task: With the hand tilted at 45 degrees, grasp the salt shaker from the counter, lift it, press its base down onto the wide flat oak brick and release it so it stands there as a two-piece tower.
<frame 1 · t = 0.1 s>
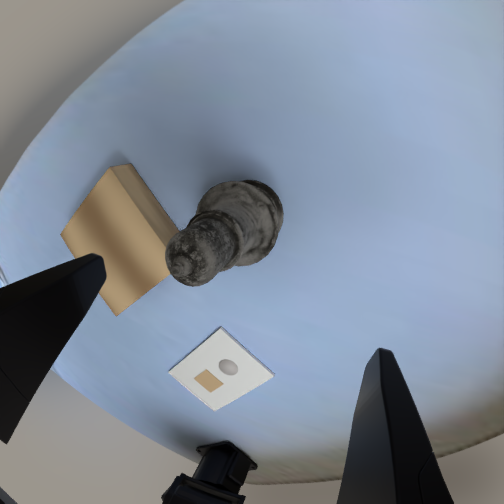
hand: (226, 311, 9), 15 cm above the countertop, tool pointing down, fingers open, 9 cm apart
salt shaker: (250, 213, 24), on the countertop
instruction card: (217, 373, 30), on the countertop
base brick: (129, 238, 28), on the countertop
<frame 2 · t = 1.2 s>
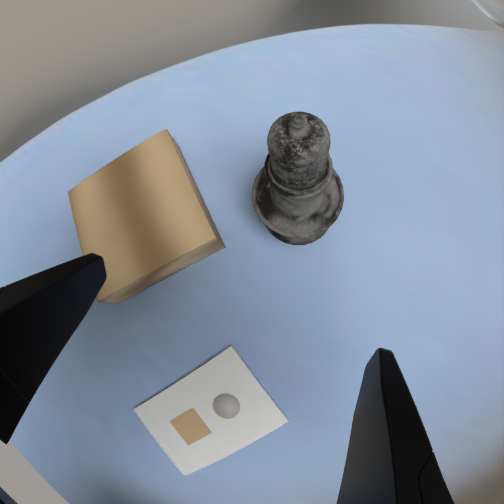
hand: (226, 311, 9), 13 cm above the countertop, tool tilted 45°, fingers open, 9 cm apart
salt shaker: (297, 211, 23), on the countertop
instruction card: (206, 417, 21), on the countertop
base brick: (146, 221, 24), on the countertop
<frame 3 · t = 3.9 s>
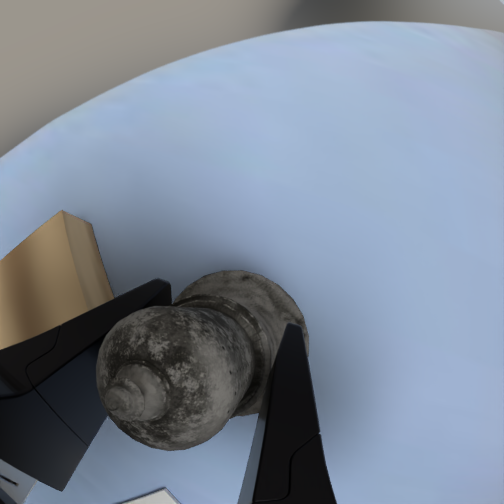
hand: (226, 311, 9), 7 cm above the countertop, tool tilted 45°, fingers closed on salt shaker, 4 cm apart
salt shaker: (246, 337, 15), on the countertop, touching gripper
base brick: (59, 328, 17), on the countertop
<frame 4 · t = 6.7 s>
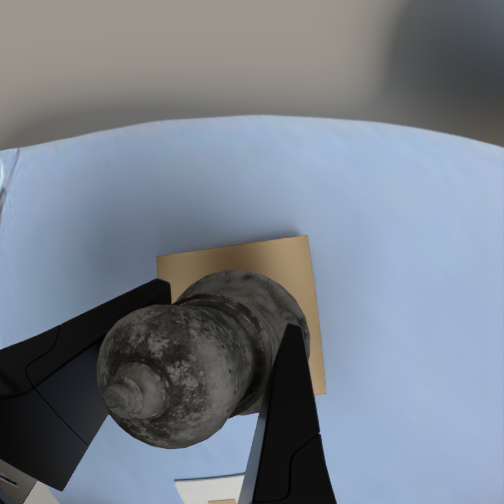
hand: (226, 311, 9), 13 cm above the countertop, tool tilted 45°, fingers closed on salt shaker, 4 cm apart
salt shaker: (248, 337, 15), point 6 cm above the countertop, touching gripper
base brick: (244, 323, 22), on the countertop
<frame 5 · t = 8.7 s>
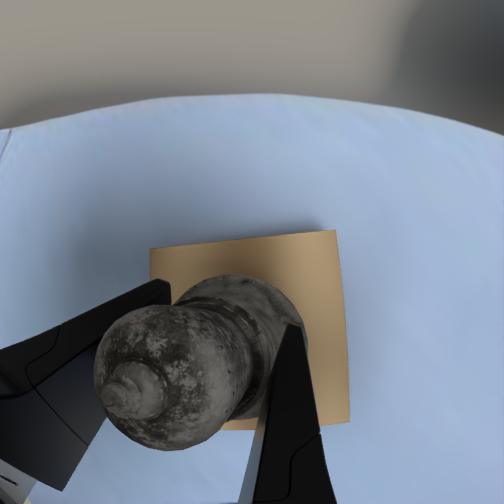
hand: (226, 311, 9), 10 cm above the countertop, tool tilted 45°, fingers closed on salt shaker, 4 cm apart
salt shaker: (245, 342, 15), point 3 cm above the countertop, touching base brick, gripper
base brick: (252, 333, 18), on the countertop
when the fingers open (10 cm above the countertop, at t = 9.8 s): salt shaker stays where it is, resting on base brick.
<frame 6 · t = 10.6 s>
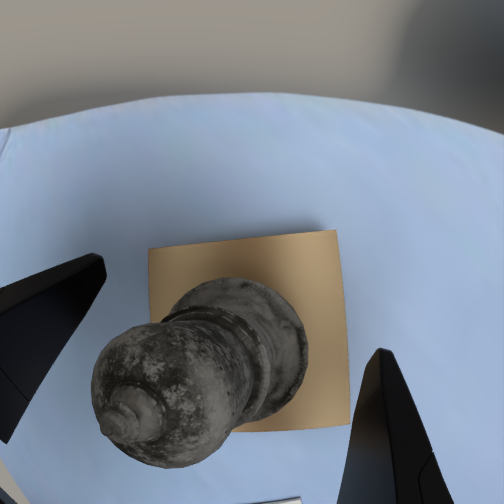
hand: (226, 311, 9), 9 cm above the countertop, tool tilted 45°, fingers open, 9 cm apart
salt shaker: (245, 343, 15), point 3 cm above the countertop, touching base brick
base brick: (252, 334, 18), on the countertop
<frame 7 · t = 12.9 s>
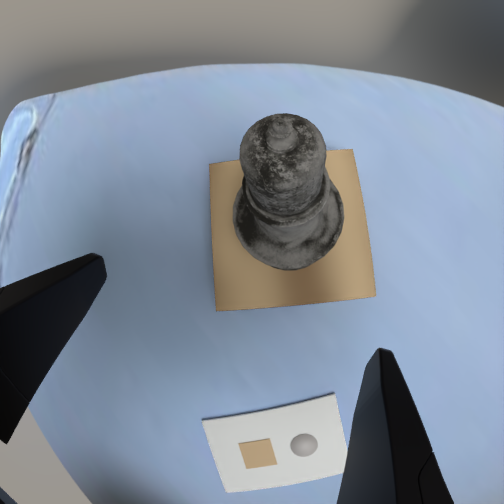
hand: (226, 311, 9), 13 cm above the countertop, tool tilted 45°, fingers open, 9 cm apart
salt shaker: (289, 229, 20), point 3 cm above the countertop, touching base brick
instruction card: (277, 449, 20), on the countertop
base brick: (290, 235, 22), on the countertop
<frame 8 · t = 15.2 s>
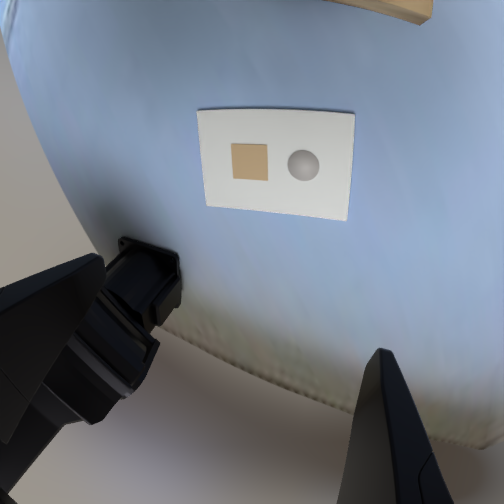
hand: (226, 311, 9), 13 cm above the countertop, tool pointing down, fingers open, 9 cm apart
instruction card: (273, 161, 19), on the countertop
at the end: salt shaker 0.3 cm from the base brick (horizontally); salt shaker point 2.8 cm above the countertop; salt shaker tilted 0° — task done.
